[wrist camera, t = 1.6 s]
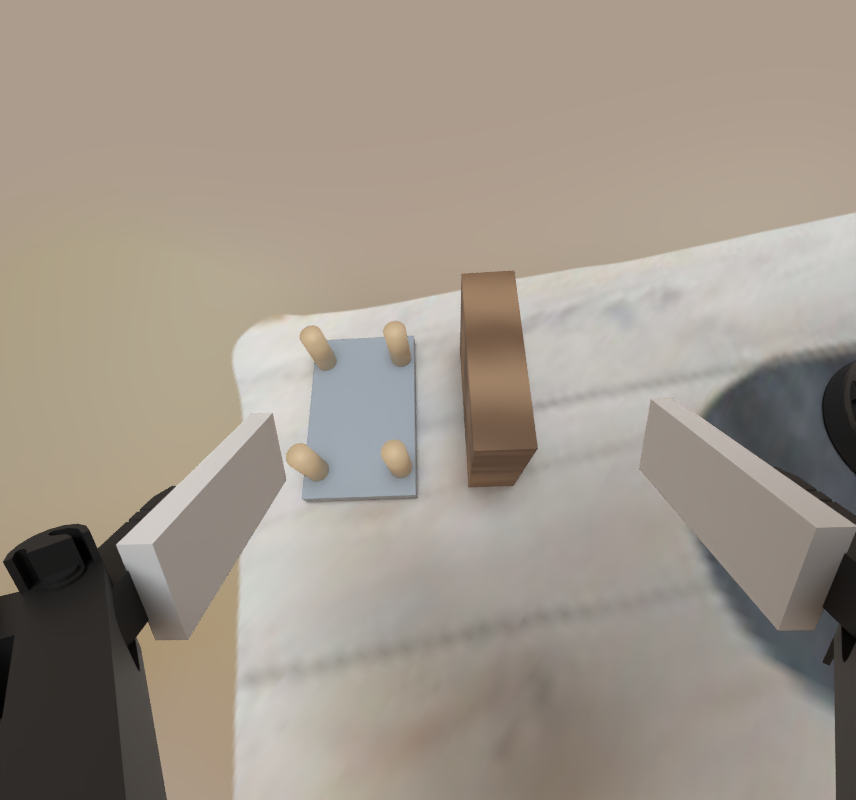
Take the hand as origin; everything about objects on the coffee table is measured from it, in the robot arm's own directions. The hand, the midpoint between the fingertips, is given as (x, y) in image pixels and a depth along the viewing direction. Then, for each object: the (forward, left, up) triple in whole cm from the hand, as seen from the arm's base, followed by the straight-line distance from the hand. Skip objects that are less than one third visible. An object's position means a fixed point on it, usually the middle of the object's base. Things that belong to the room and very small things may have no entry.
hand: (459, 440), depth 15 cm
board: (+7, -8, -23) cm, 26 cm away
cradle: (+13, +2, -23) cm, 27 cm away
